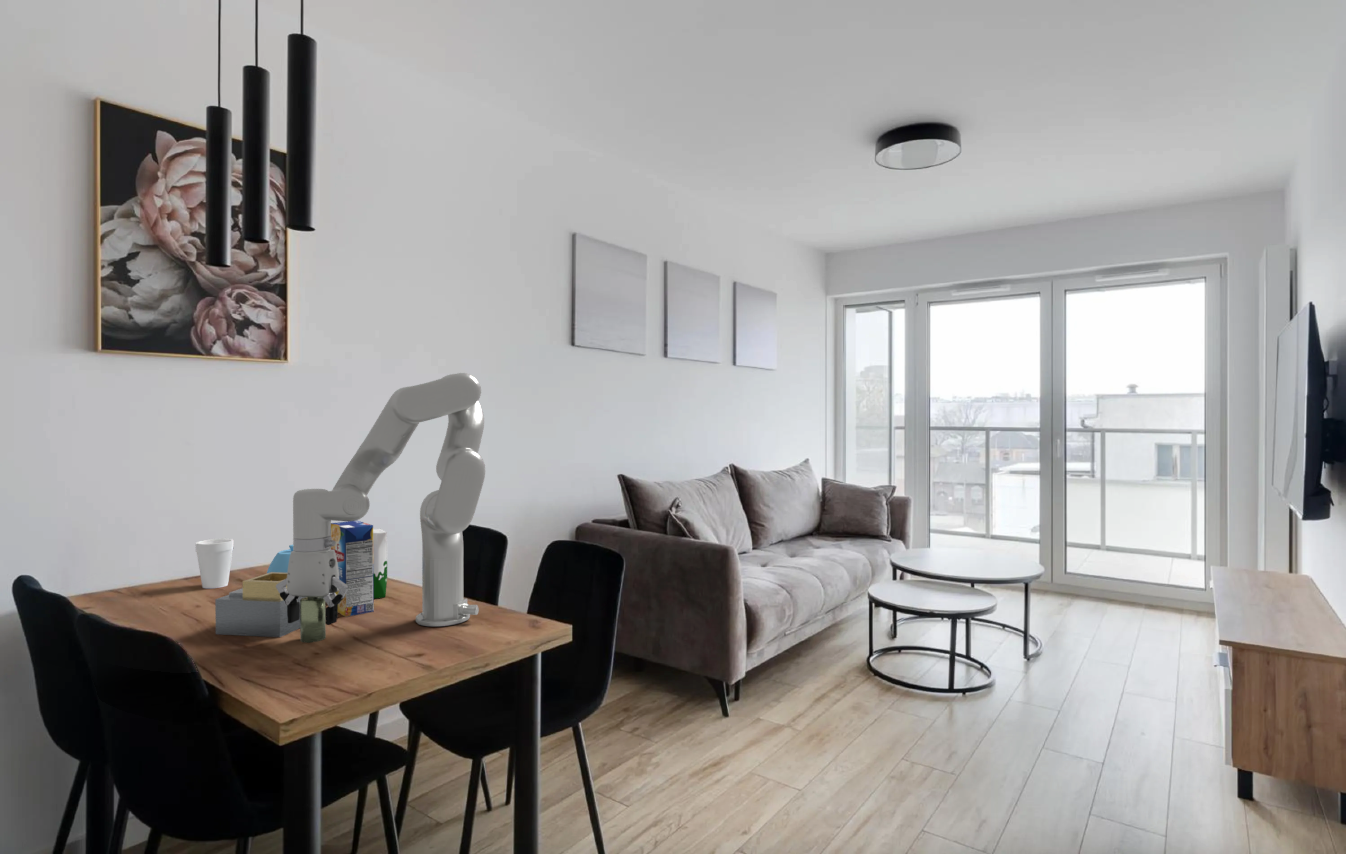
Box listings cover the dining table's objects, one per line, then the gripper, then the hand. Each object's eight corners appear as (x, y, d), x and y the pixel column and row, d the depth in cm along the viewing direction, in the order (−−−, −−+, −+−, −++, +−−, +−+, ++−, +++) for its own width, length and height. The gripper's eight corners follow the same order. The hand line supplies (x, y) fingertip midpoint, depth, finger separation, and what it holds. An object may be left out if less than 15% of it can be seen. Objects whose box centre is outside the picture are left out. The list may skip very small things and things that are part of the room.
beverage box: (345, 616, 176) (345, 528, 175) (330, 608, 184) (330, 523, 183) (373, 611, 180) (373, 525, 180) (358, 603, 188) (357, 520, 188)
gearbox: (314, 621, 171) (313, 572, 171) (280, 637, 160) (279, 584, 159) (253, 619, 174) (253, 570, 173) (215, 634, 162) (215, 581, 161)
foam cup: (207, 582, 211) (206, 538, 211) (240, 581, 212) (239, 538, 212) (189, 590, 202) (188, 544, 201) (223, 589, 203) (223, 544, 202)
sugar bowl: (261, 591, 200) (261, 551, 200) (270, 580, 214) (270, 542, 214) (320, 587, 206) (320, 547, 206) (325, 576, 220) (325, 538, 220)
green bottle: (330, 635, 161) (330, 589, 160) (316, 642, 156) (316, 595, 155) (309, 634, 161) (309, 588, 161) (295, 641, 156) (295, 594, 156)
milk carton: (348, 595, 196) (348, 523, 196) (383, 590, 201) (382, 520, 201) (354, 602, 189) (354, 527, 189) (390, 597, 194) (390, 524, 194)
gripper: (358, 542, 161) (358, 619, 161) (287, 540, 163) (287, 616, 163) (338, 549, 153) (338, 629, 153) (264, 546, 155) (265, 625, 156)
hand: (312, 622), depth 158 cm, fingers open, 8 cm apart
